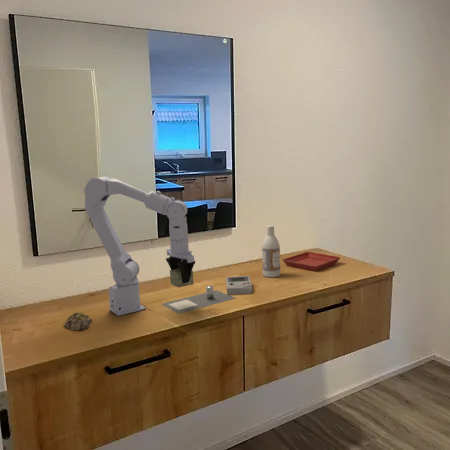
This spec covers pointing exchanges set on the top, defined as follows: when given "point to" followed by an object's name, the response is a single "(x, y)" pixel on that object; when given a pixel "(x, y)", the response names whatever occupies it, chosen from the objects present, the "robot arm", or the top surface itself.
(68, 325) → the mineral rock
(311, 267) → the plant saucer
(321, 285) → the top surface
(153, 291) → the top surface
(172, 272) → the sleeve
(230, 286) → the handheld gaming device
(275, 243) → the bath foam
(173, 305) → the board
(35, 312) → the top surface
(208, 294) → the peg
